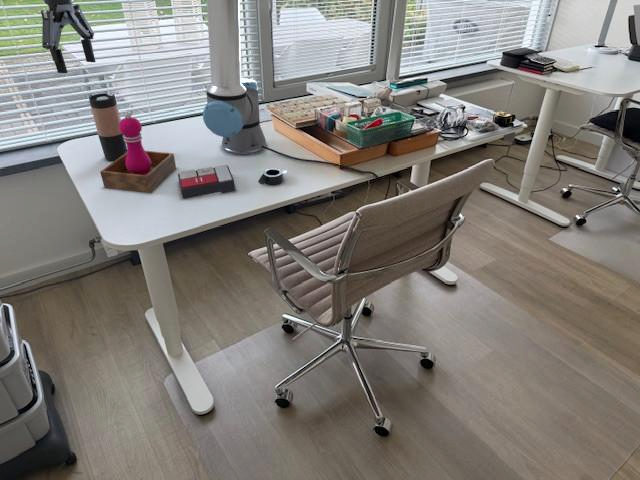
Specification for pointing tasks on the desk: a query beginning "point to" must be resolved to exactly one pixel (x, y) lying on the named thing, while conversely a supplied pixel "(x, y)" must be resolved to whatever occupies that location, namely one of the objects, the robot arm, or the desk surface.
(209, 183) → the black red grey box
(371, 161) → the desk surface
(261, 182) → the duct tape
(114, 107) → the travel mug
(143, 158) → the pepper mill
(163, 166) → the wooden box
